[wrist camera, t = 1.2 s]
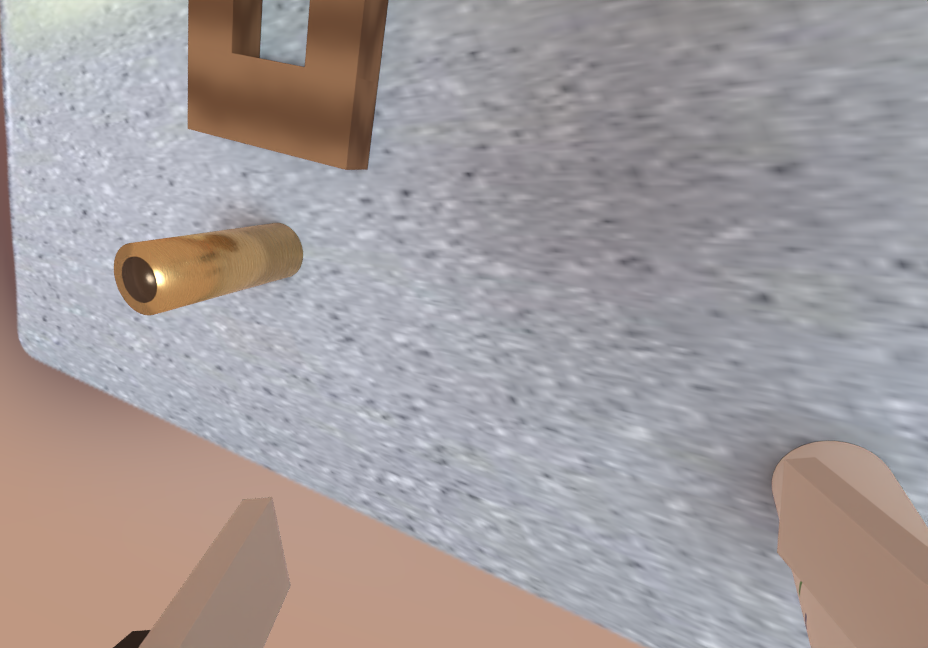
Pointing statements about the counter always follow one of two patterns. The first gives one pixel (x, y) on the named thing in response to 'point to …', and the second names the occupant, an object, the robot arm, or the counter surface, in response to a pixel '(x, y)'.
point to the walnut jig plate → (288, 80)
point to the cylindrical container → (874, 485)
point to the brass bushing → (204, 265)
